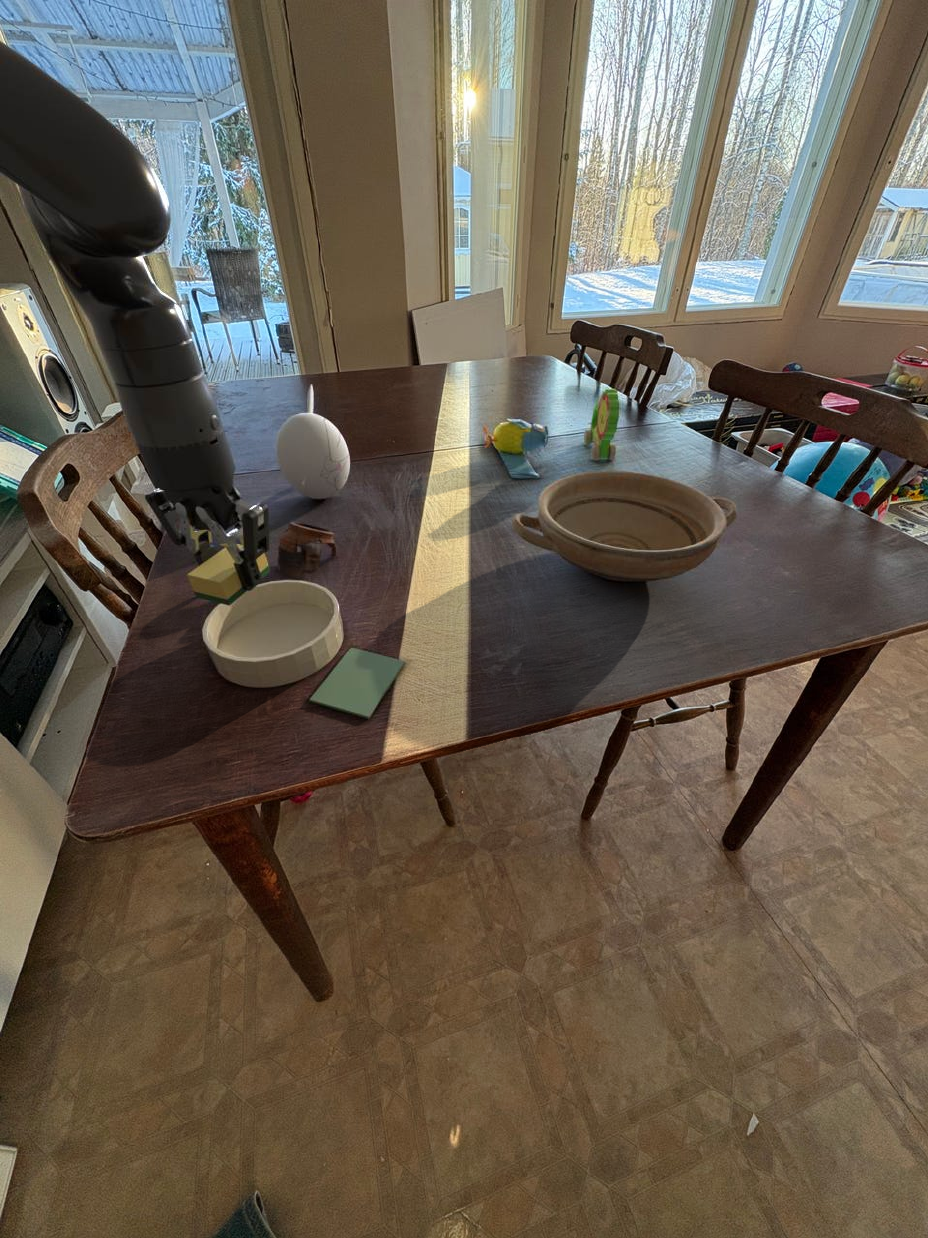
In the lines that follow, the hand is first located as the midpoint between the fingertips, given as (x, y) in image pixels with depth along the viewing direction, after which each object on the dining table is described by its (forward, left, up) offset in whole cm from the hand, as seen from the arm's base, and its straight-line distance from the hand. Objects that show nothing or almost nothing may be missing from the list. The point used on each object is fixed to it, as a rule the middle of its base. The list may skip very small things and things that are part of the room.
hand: (233, 581), depth 57 cm
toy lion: (+90, -30, -14) cm, 96 cm away
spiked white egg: (+50, +22, -14) cm, 57 cm away
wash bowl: (+5, +1, -14) cm, 15 cm away
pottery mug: (+23, +8, -14) cm, 28 cm away
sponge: (0, 0, 0) cm, 0 cm away
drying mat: (+2, -13, -14) cm, 19 cm away
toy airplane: (+82, -11, -14) cm, 84 cm away
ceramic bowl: (+42, -40, -14) cm, 60 cm away
